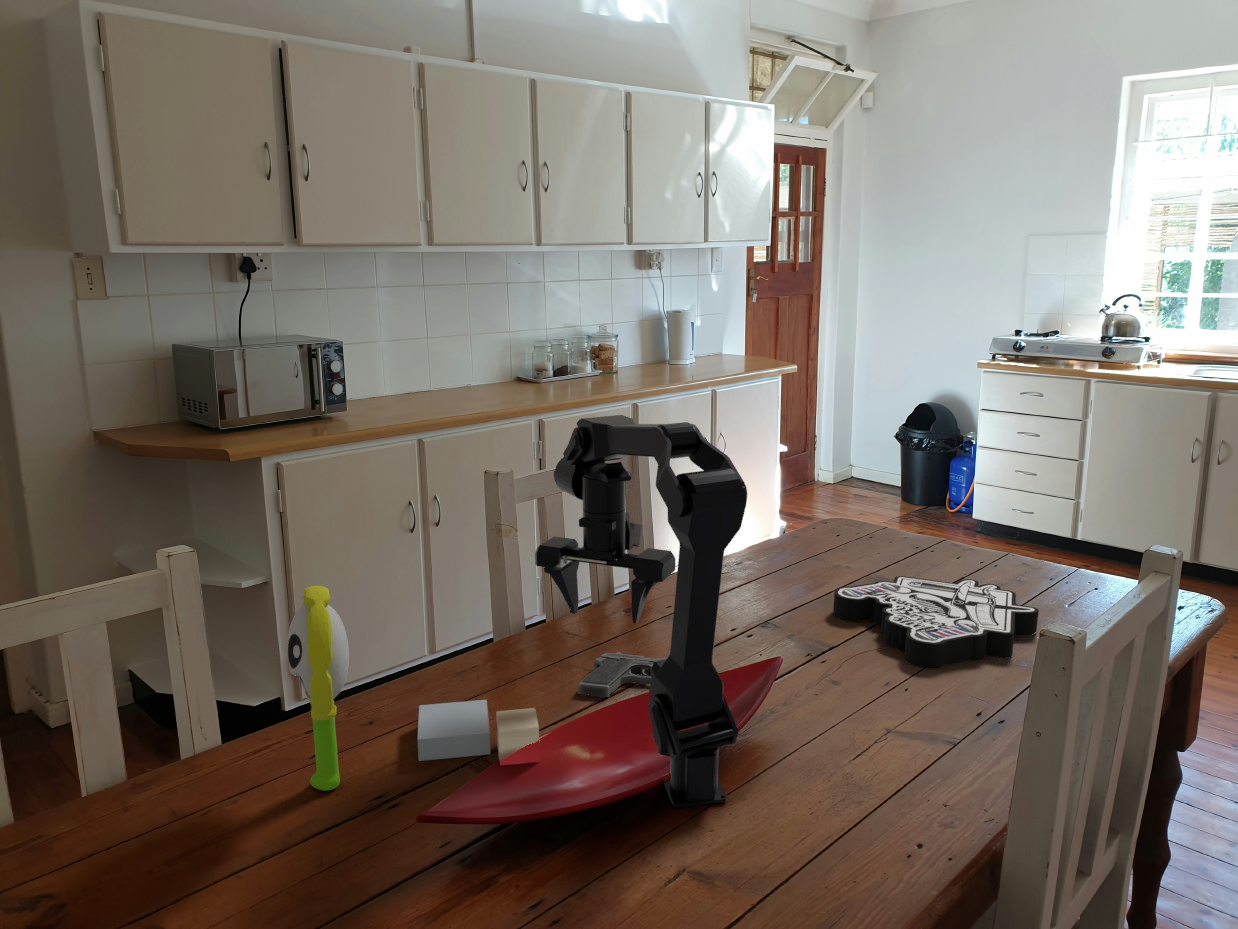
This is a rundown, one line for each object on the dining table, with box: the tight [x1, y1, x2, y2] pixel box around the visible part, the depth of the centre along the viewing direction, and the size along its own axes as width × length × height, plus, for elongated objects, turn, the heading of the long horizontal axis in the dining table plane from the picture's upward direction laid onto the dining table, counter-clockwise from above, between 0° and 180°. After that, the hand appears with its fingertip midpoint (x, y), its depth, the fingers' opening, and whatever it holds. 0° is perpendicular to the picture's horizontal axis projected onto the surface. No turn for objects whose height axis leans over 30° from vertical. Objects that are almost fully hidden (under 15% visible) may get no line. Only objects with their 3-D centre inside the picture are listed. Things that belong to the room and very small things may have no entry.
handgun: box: [577, 651, 665, 698], centre depth 138 cm, size 2×17×12 cm
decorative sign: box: [832, 575, 1040, 670], centre depth 158 cm, size 28×4×30 cm
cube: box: [495, 707, 540, 761], centre depth 118 cm, size 5×5×5 cm
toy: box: [286, 585, 350, 792], centre depth 108 cm, size 15×7×25 cm, turn 21°
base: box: [417, 699, 491, 762], centre depth 121 cm, size 9×9×3 cm
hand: (605, 617), depth 127 cm, fingers open, 9 cm apart
